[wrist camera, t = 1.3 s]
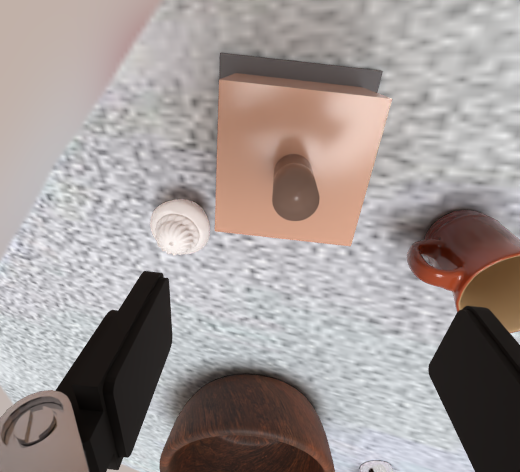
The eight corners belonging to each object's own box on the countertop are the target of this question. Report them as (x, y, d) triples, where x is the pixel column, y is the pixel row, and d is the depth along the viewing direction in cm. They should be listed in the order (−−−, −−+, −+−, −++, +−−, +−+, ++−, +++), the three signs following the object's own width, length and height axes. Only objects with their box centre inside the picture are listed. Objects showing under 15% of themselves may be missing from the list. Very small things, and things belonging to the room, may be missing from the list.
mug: (514, 206, 33) (600, 262, 24) (473, 273, 37) (533, 341, 29) (402, 187, 33) (448, 237, 24) (374, 257, 37) (404, 320, 28)
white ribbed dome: (226, 209, 35) (215, 241, 29) (198, 245, 38) (182, 282, 32) (178, 176, 34) (155, 203, 27) (152, 217, 36) (126, 250, 30)
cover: (235, 73, 28) (202, 86, 16) (362, 87, 28) (422, 110, 16) (229, 191, 33) (201, 266, 22) (335, 203, 33) (364, 284, 22)
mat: (221, 52, 28) (220, 52, 27) (380, 70, 28) (382, 71, 27) (216, 200, 35) (215, 202, 34) (344, 214, 35) (345, 216, 34)
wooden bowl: (157, 420, 57) (134, 488, 48) (217, 337, 45) (201, 406, 37) (277, 463, 62) (276, 532, 53) (357, 398, 50) (374, 471, 42)
